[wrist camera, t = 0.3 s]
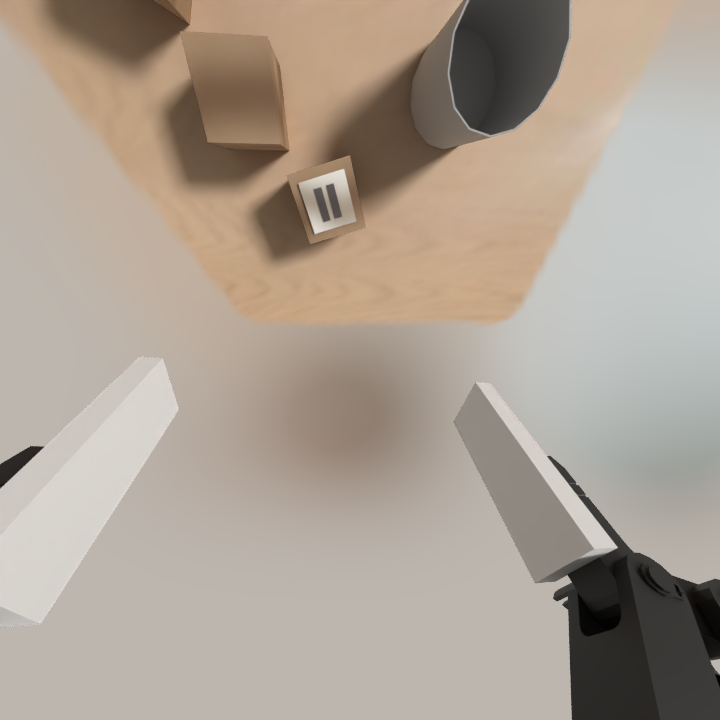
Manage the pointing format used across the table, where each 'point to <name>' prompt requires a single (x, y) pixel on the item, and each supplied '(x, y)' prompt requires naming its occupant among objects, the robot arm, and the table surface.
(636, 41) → the table surface
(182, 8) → the numbered block
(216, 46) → the plain block
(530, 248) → the table surface
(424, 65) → the cup
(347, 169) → the numbered block
